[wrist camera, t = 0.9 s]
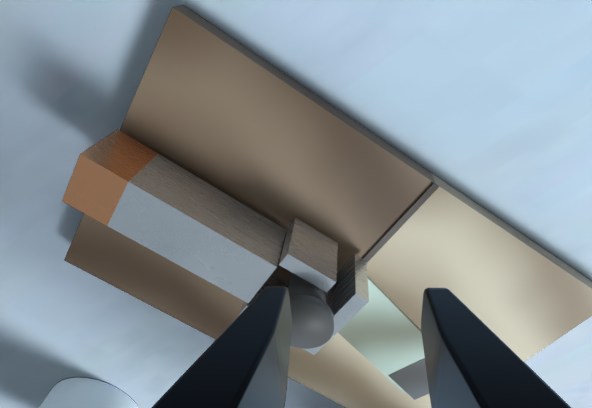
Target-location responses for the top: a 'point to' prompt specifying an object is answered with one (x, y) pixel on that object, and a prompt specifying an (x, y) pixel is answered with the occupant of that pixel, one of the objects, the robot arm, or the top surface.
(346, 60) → the top surface
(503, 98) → the top surface
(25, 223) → the top surface
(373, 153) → the door-edge board
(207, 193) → the swing bar
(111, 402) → the cylindrical container
